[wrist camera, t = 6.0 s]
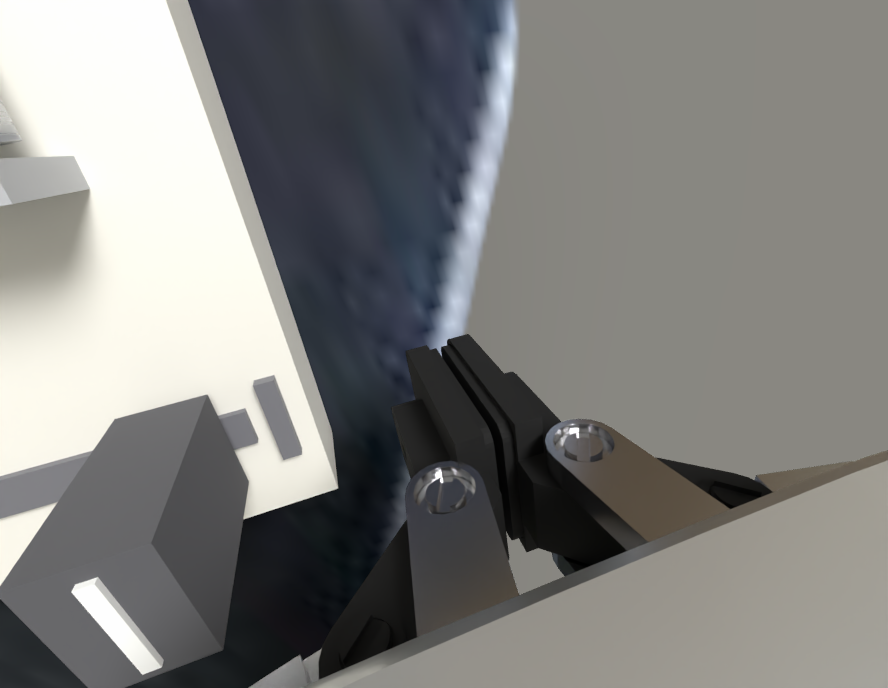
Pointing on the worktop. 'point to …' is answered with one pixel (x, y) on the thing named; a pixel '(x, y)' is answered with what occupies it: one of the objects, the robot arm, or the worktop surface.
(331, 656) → the robot arm
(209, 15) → the worktop surface
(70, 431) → the panel
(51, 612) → the slider knob
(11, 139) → the toggle lever
